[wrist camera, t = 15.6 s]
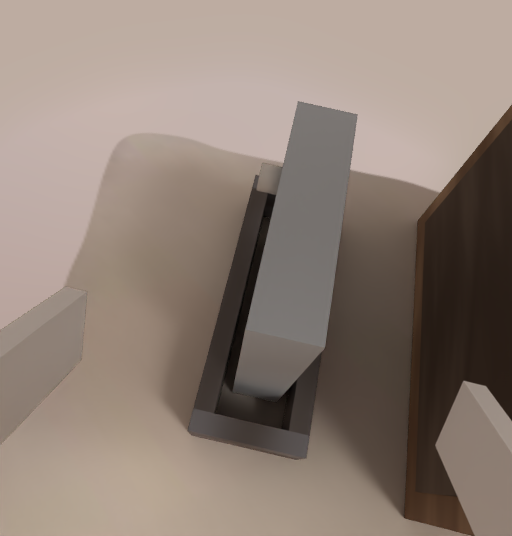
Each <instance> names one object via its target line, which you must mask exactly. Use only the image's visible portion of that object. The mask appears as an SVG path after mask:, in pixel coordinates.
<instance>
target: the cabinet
mask: <svg viewBox="0 0 512 536" xmlns="http://www.w3.org/2000/svg"><path fill="white" fill-rule="evenodd" d="M258 179H259V176H258V175H256V176H255V180H254V183H253V187H252V191H251V195H250V198H249V202H248V206H247V210H246V213H245V217H244V221H243V225H242V228H241V232H240V236H239V240H238V243H237V247H236V251H235V255H234V258H233V262H232V266H231V270H230V273H229V277H228V281H227V285H226V288H225V292H224V296H223V300H222V303H221V307H220V311H219V315H218V318H217V322H216V326H215V330H214V333H213V337H212V341H211V345H210V348H209V352H208V356H207V360H206V363H205V367H204V371H203V375H202V378H201V382H200V386H199V390H198V393H197V397H196V401H195V405H194V408H193V412H192V416H191V420H190V423H189V427H188V432H189V433H190V434H191V435H193V436H197V437H202V438H206V439H210V440H214V441H219V442H223V443H227V444H231V445H236V446H240V447H244V448H248V449H253V450H257V451H261V452H265V453H270V454H274V455H278V456H282V457H287V458H291V459H295V460H297V459H305V458H306V457H307V450H308V443H309V436H310V429H311V422H312V415H313V408H314V401H315V394H316V387H317V380H318V374H319V367H320V360H321V353H322V352H321V353H320V354H319V355H318V356H317V357H316V358H315V360H314V361H313V362H312V363H311V364H310V365H309V366H308V367H307V368H306V370H305V371H304V372H303V373H302V374H301V375H300V376H299V377H298V379H297V380H296V381H295V382H294V383H293V384H292V385H291V386H290V388H289V390H288V395H287V401H286V407H285V413H284V418H283V424H282V429H279V428H274V427H270V426H266V425H262V424H257V423H253V422H249V421H245V420H240V419H236V418H232V417H228V416H223V415H219V414H216V410H217V406H218V402H219V398H220V394H221V390H222V386H223V381H224V377H225V373H226V369H227V365H228V361H229V357H230V353H231V348H232V344H233V340H234V336H235V332H236V328H237V324H238V320H239V315H240V311H241V307H242V303H243V299H244V295H245V291H246V287H247V282H248V278H249V274H250V270H251V266H252V262H253V258H254V254H255V250H256V245H257V241H258V237H259V233H260V229H261V225H262V221H263V217H267V218H271V216H272V212H273V208H274V203H275V199H276V195H274V194H270V193H265V192H261V191H257V184H258ZM463 381H467V382H471V383H475V384H479V385H483V386H486V387H487V388H488V390H489V391H490V392H491V394H492V395H493V396H494V398H495V399H496V400H497V402H498V403H499V405H500V406H501V407H502V409H503V410H504V411H505V413H506V414H507V415H508V417H509V418H510V419H511V421H512V105H511V106H510V108H509V109H508V110H507V111H506V113H505V114H504V115H503V116H502V117H501V119H500V120H499V121H498V123H497V124H496V125H495V126H494V127H493V129H492V130H491V131H490V132H489V134H488V135H487V136H486V137H485V139H484V140H483V141H482V142H481V143H480V145H479V146H478V147H477V148H476V150H475V151H474V152H473V153H472V155H471V156H470V157H469V158H468V160H467V161H466V162H465V163H464V165H463V166H462V167H461V168H460V169H459V171H458V172H457V173H456V174H455V176H454V177H453V178H452V179H451V181H450V182H449V183H448V184H447V186H446V187H445V188H444V189H443V190H442V192H441V193H440V194H439V195H438V197H437V198H436V199H435V200H434V201H433V203H432V204H431V205H430V206H429V208H428V209H427V210H426V211H425V213H424V214H423V215H422V216H421V218H420V219H419V220H418V227H417V249H416V271H415V293H414V316H413V338H412V360H411V382H410V404H409V426H408V448H407V470H406V492H405V514H404V518H406V519H410V520H414V521H417V522H421V523H425V524H429V525H433V526H437V527H441V528H444V529H448V530H452V531H456V532H460V533H464V534H467V535H471V536H475V535H474V533H473V531H472V528H471V526H470V524H469V522H468V519H467V517H466V515H465V512H464V510H463V508H462V506H461V503H460V501H459V499H458V496H457V494H456V492H455V490H454V487H453V485H452V483H451V480H450V478H449V476H448V474H447V471H446V469H445V467H444V465H443V462H442V460H441V458H440V455H439V453H438V451H437V449H436V446H435V445H436V442H437V440H438V438H439V435H440V433H441V431H442V429H443V426H444V424H445V422H446V419H447V417H448V415H449V413H450V410H451V408H452V406H453V403H454V401H455V399H456V397H457V394H458V392H459V390H460V387H461V385H462V383H463Z"/></svg>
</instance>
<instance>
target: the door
mask: <svg viewBox="0 0 512 536" xmlns="http://www.w3.org/2000/svg"><path fill="white" fill-rule="evenodd" d="M356 122H357V114H353V113H349V112H344V111H340V110H335V109H331V108H326V107H322V106H316V105H313V104H308V103H303V102H298V105H297V109H296V113H295V117H294V122H293V125H292V130H291V135H290V138H289V143H288V147H287V151H286V156H285V160H284V164H283V167H279V166H275V165H271V164H266V163H262V166H261V170H260V175H259V179H258V184H257V191H261V192H265V193H270V194H274V195H276V199H275V203H274V208H273V212H272V216H271V221H270V225H269V229H268V234H267V238H266V242H265V246H264V251H263V255H262V259H261V264H260V268H259V272H258V277H257V281H256V285H255V290H254V294H253V298H252V303H251V307H250V311H249V316H248V320H247V324H246V329H245V333H244V338H243V343H242V348H241V353H240V358H239V362H238V367H237V372H236V377H235V382H234V387H233V391H232V392H233V393H238V394H242V395H246V396H250V397H255V398H259V399H263V400H268V401H272V402H277V401H278V400H279V399H280V398H281V396H282V395H283V394H284V393H285V392H286V391H287V390H288V389H289V388H290V386H291V385H292V384H293V383H294V382H295V381H296V380H297V379H298V377H299V376H300V375H301V374H302V373H303V372H304V371H305V370H306V368H307V367H308V366H309V365H310V364H311V363H312V362H313V361H314V360H315V358H316V357H317V356H318V355H319V354H320V353H321V352H322V351H323V349H324V348H325V344H326V337H327V330H328V323H329V315H330V308H331V301H332V294H333V287H334V280H335V272H336V265H337V258H338V251H339V244H340V237H341V229H342V222H343V215H344V208H345V201H346V194H347V186H348V179H349V172H350V165H351V158H352V151H353V143H354V136H355V128H356Z"/></svg>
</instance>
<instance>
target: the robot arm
mask: <svg viewBox="0 0 512 536" xmlns="http://www.w3.org/2000/svg"><path fill="white" fill-rule="evenodd" d="M86 301H87V291H83V290H79V289H74V288H70V287H64V288H63V289H61V290H60V291H58V292H57V293H55V294H54V295H52V296H51V297H50V298H48V299H46V300H45V301H43V302H42V303H40V304H39V305H37V306H36V307H34V308H33V309H31V310H30V311H28V312H27V313H25V314H24V315H22V316H21V317H19V318H18V319H16V320H15V321H13V322H12V323H10V324H9V325H8V326H6V327H4V328H3V329H1V330H0V445H1V444H2V443H3V442H4V441H5V440H6V439H7V438H8V437H9V436H10V435H11V434H12V432H13V431H14V430H15V429H16V428H17V427H18V426H19V425H20V424H21V423H22V422H23V421H24V420H25V419H26V418H27V417H28V416H29V415H30V414H31V412H32V411H33V410H34V409H35V408H36V407H37V406H38V405H39V404H40V403H41V402H42V401H43V400H44V399H45V398H46V397H47V396H48V395H49V394H50V392H51V391H52V390H53V389H54V388H55V387H56V386H57V385H58V384H59V383H60V382H61V381H62V380H63V379H64V378H65V377H66V376H67V375H68V374H69V372H70V371H71V370H72V369H73V368H74V367H75V366H76V365H77V364H78V363H79V362H80V361H81V358H82V347H83V335H84V324H85V313H86ZM435 446H436V449H437V451H438V453H439V455H440V458H441V460H442V462H443V465H444V467H445V469H446V471H447V474H448V476H449V478H450V480H451V483H452V485H453V487H454V490H455V492H456V494H457V496H458V499H459V501H460V503H461V506H462V508H463V510H464V512H465V515H466V517H467V519H468V522H469V524H470V526H471V528H472V531H473V533H474V535H475V536H512V421H511V419H510V418H509V417H508V415H507V414H506V413H505V411H504V410H503V409H502V407H501V406H500V405H499V403H498V402H497V400H496V399H495V398H494V396H493V395H492V394H491V392H490V391H489V390H488V388H487V387H486V386H483V385H479V384H475V383H471V382H467V381H463V383H462V385H461V387H460V390H459V392H458V394H457V397H456V399H455V401H454V403H453V406H452V408H451V410H450V413H449V415H448V417H447V419H446V422H445V424H444V426H443V429H442V431H441V433H440V435H439V438H438V440H437V442H436V445H435Z"/></svg>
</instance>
